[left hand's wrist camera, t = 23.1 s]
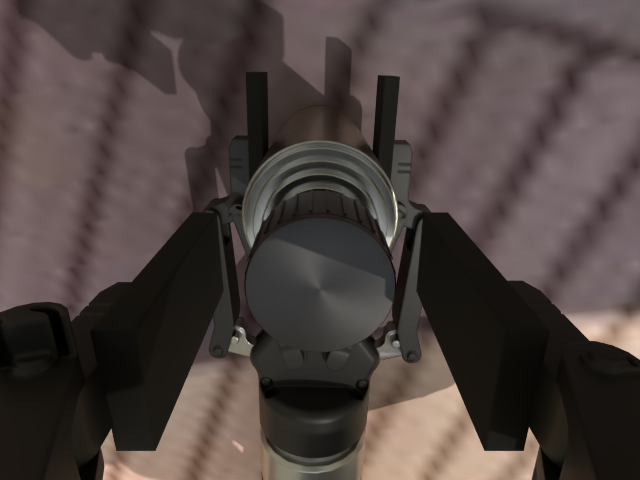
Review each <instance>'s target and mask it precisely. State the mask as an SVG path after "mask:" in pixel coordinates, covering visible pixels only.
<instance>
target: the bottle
mask: <svg viewBox="0 0 640 480" xmlns="http://www.w3.org/2000/svg"><path fill="white" fill-rule="evenodd" d="M310 190H313V191H326V190H329V191H330V192H336V193H339V194H341V193H344V195H345V196H348V197H350V198H352V199H357V201H358V202H359V203H360V204H361V205H362V206H364V207H365V208H368V209H369V212H370V214H371V215H372V216H373V218H374V219H377V220H378V223H379V226H380V228H381V231H383V233H384V236H385V239H386V241H387V244H388V247H389V249H390V247H391V245H392V243H393V241H394V238H395V236H396V231H397V227H398V219H399V210H398V202H397V196H396V193H395V190H394V187H393V185H392V183H391V181H390V179H389V177H388V176H387V174H386V172H385V171H384V169H383V168H382V166H381V164H380V163H379V161H378V159H377V158H376V156H375V155H374V153H373V151H372V150H371V148H370V146H369V145H368V143H367V142H366V140H365V138H364V137H363V135H362V133H361V132H360V130H359V128H358V127H357V125H356V124H355V122H354V121H353V120H352V119H351V118H350V117H349V116H348V115H346V114H345V113H343V112H342V111H340V110H338V109H336V108H333V107H329V106H311V107H307V108H305V109H302V110H300V111H298V112H297V113H295V114H294V115H293V116H291V117H290V118H289V119H288V120H287V122H286V123H285V124H284V126H283V127H282V129H281V131H280V132H279V134H278V135H277V137H276V139H275V140H274V142H273V144H272V145H271V147H270V149H269V150H268V152H267V154H266V155H265V157H264V158H263V160H262V162H261V163H260V165H259V167H258V168H257V170H256V172H255V173H254V175H253V177H252V178H251V180H250V182H249V184H248V186H247V189H246V191H245V195H244V199H243V204H242V224H243V230H244V234H245V237H246V240H247V242H248V244H249V246H250V249H251V248H252V246H253V243H254V240H255V238H256V235H257V232H259V229H260V226H261V224H262V221H263V220H266V218H267V217H268V216H269V214H270V211H271V209H275V208H276V207H277V206H278V205H279V204H281V203H282V200H287V199H289V198H291V197H293V196H295V194H297V193H298V194H301V193H305V192H309V191H310Z"/></svg>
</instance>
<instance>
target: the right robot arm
mask: <svg viewBox="0 0 640 480" xmlns="http://www.w3.org/2000/svg"><path fill="white" fill-rule="evenodd" d="M399 81H400V77H397V76H381V75H378V83H377V97H376V111H375V125H374V139H373V153H374V155H375V156H376V158H377V159H378V161H379V163H380V164H381V166H382V168H383V169H384V171H385V172H386V174H387V176H388V177H389V179H390V181H391V183H392V185H393V187H394V190H395V193H396V196H397V202H398V210H399V219H398V227H397V231H396V236H395V238H394V241H393V243H392V245H391V247H390V252H391V253H392V251H393V248H394V246H395V244H396V242H397V240H398V237H399V235H400V233H401V231H402V228H403V226H405V227H407V229H406V234H405V240H404V245H403V251H402V256H401V262H400V267H399V273H398V278H397V284H396V292H395V298H394V302H393V307H392V317H393V321H388V322H387V324H386V326H385V327H384V330H383V335H382V337H381V338H379V339H377V340H375V339H374V338H373V337H372V335H370V336H369V337H368V338H366V339H365V340H363V341H361V342H360V343H358V344H356V345H353V346H351V347H349V348H345V349H342V350H338V351H333V352H308V351H302V350H299V349H295V348H292V347H289V346H287V345H285V344H283V343H281V342H279V341H277V340H276V339H274V338H273V337H272V336H270V335H269V334H268V333H267V332H266V331H265V330H264V329H262V330H261V331H260V333H259V334H258V335H257V336H256V337H254V336H252V335H251V334H250V333H249V331H248V325H247V323H246V321H245V319H244V318H243V317H239V312H240V297H239V289H238V282H237V274H236V266H235V258H234V250H233V242H232V234H231V226H230V222H233V221H234V224H235V226H236V229H237V231H238V234H239V237H240V239H241V242H242V244H243V247H244V250H245V252H246V255H247V257H248V256H249V254H250V251H251V249H250V246H249V244H248V242H247V240H246V237H245V234H244V230H243V224H242V204H243V199H244V195H245V191H246V189H247V186H248V184H249V182H250V180H251V178H252V177H253V175H254V173H255V172H256V170H257V168H258V167H259V165H260V163H261V162H262V160H263V158H264V157H265V155H266V154H267V152H268V88H267V72H246V90H247V122H248V136H235V137H234V138H233V139H232V141H231V144H230V147H229V164H230V185H231V194H230V195H229V196H227V197H224V198H221V199H218V198H217V199H213V200H212V201H210V203H209V204H208V205H207V206H206V208H205V209H204V210H203V211H202V213H217V221H218V232H219V243H220V255H221V266H222V277H223V288H224V291H223V294H222V296H221V298H220V301H219V303H218V306H217V308H216V310H215V313H214V315H213V319H214V325H215V327H214V331H213V335H212V338H211V342H210V346H209V352H210V354H211V355H212V356H213V357H215V358H223V357H225V356H226V355H227V353H228V351H229V352H233V353H236V354H240V355H244V356H248V357H250V360H251V363H252V365H253V366H254V367H255V369H256V370H257V373H258V376H259V405H260V424H261V429H260V441H261V462H262V480H361V476H362V470H363V459H364V447H365V427H366V421H367V410H368V398H369V386H370V378H371V375H372V373H373V372H374V370H375V369H376V368H377V366H378V365H379V361H380V360H384V359H388V358H393V357H398V356H402V357H403V359H404V360H405V361H406V362H408V363H414V362H417V361H418V360H419V359H420V357H421V350H420V345H419V340H418V335H417V328H418V323H419V318H420V314H421V309H422V303H421V301H420V299H419V296H418V294H417V291H416V288H417V277H418V266H419V255H420V243H421V232H422V221H423V213H431V212H430V210H429V209H428V208H427V207H426V206H425V205H423V204H416V203H414V202H411V201H410V200H409V199H408V193H409V183H410V174H411V164H412V155H413V154H412V150H411V147H410V144H409V143H408V142H407V141H405V140H394V138H395V126H396V115H397V104H398V92H399Z"/></svg>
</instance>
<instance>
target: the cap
mask: <svg viewBox="0 0 640 480" xmlns="http://www.w3.org/2000/svg"><path fill="white" fill-rule="evenodd" d="M392 259H393V257H392V255H391V252H390V249H389V247H388V244H387V241H386V239H385V236H384V233H383V231H381V228H380V226H379V223H378V220H377V219H374V218H373V216H372V215H371V214H370V212H369V209H368V208H365V207H364V206H362V205H361V204H360V203H359V202H358V201H357V199H352V198H350V197H348V196H345V195H344V193H341V194H339V193H336V192H330V191H329V190H326V191H313V190H310V191H309V192H305V193H301V194H298V193H297V194H295V196H293V197H291V198H289V199H287V200H282V203H281V204H279V205H278V206H277V207H276V208H275V209H271V211H270V214H269V216H268V217H267V218H266V220H263V221H262V224H261V226H260V229H259V232H257V235H256V238H255V240H254V243H253V246H252V248H251V251H250V254H249V256H248V259H247V261H249V263H248V266H247V269H246V272H245V295H246V300H247V303H248V306H249V309H250V311H251V313H252V315H253V317H254V318H255V320H256V321H257V322H258V324H259V325H260V326H261V327H262V328H263V329H264V330H265V331H266V332H267V333H268V334H269V335H270V336H272V337H273V338H274V339H276V340H277V341H279V342H281V343H283V344H285V345H287V346H289V347H292V348H295V349H299V350H302V351H308V352H333V351H338V350H342V349H345V348H349V347H351V346H353V345H356V344H358V343H360V342H361V341H363V340H365V339H366V338H368V337H369V336H370V335H372V334H373V333H374V332H375V331H376V330H377V329H378V328H379V327H380V326H381V324H382V323H383V322H384V321H385V319H386V317H387V316H388V314H389V312H390V310H391V308H392V305H393V302H394V298H395V292H396V276H395V274H396V272H395V269H394V266H393V264H392V261H391V260H392Z"/></svg>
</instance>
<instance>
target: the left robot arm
mask: <svg viewBox="0 0 640 480" xmlns="http://www.w3.org/2000/svg"><path fill="white" fill-rule="evenodd" d="M223 291H224V288H223V277H222V266H221V255H220V243H219V232H218V221H217V213H191V215H190V216H189V217H188V218H187V219H186V220H185V222H184V223H183V224H182V225H181V226H180V227H179V228H178V230H177V231H176V232H175V233H174V234H173V235H172V236H171V238H170V239H169V240H168V241H167V242H166V243H165V245H164V246H163V247H162V248H161V249H160V250H159V251H158V253H157V254H156V255H155V256H154V257H153V258H152V260H151V261H150V262H149V263H148V264H147V265H146V266H145V268H144V269H143V270H142V271H141V272H140V273H139V274H138V276H137V277H136V278H135V279H134V280H133V281H132V282H118V283H116V284H114V285H112V286H110V287H108V288H107V289H105V290H103V291H101V292H100V293H99V294H98V295H97V296H96V297H95V298H94V299H93V300H92V301H91V302H90V303H89V306H86V307H85V308H84V309H83V310H82V311H81V312H80V315H79V316H76V317H75V319H74V320H73V321H72V322H71V321H70V317H69V312H68V308H66V307H65V306H63V305H62V304H59V303H52V302H40V303H31V304H26V305H21V306H17V307H14V308H11V309H8V310H6V311H3V312H0V480H103V472H104V461H103V455H102V451H101V445H102V444H103V442H104V440H105V438H106V437H107V435H108V433H109V431H110V430H111V429H112V433H113V438H114V442H115V447H116V451H156V448H157V446H158V444H159V441H160V439H161V437H162V434H163V432H164V430H165V427H166V425H167V423H168V420H169V418H170V415H171V413H172V411H173V408H174V406H175V404H176V401H177V399H178V397H179V394H180V392H181V390H182V387H183V385H184V383H185V380H186V378H187V376H188V373H189V371H190V369H191V366H192V364H193V362H194V359H195V357H196V355H197V352H198V350H199V348H200V345H201V343H202V341H203V338H204V336H205V334H206V331H207V329H208V327H209V324H210V322H211V320H212V317H213V315H214V313H215V310H216V308H217V306H218V303H219V301H220V298H221V296H222V294H223ZM416 291H417V294H418V296H419V299H420V301H421V303H422V306H423V308H424V310H425V313H426V315H427V317H428V320H429V322H430V324H431V327H432V329H433V331H434V334H435V336H436V338H437V341H438V343H439V345H440V348H441V350H442V352H443V355H444V357H445V359H446V362H447V364H448V366H449V369H450V371H451V373H452V376H453V378H454V380H455V383H456V385H457V387H458V390H459V392H460V394H461V397H462V399H463V401H464V404H465V406H466V408H467V411H468V413H469V415H470V418H471V420H472V423H473V425H474V427H475V430H476V432H477V434H478V437H479V439H480V441H481V444H482V446H483V448H484V451H524V447H525V442H526V438H527V433H528V429H529V427H530V429H531V431H532V433H533V434H534V436H535V438H536V439H537V441H538V443H539V445H540V447H539V451H538V455H537V459H536V463H535V468H534V472H533V476H532V480H640V360H639V359H638V358H636V357H635V356H633V355H632V354H630V353H629V352H627V351H624V350H622V349H619V348H617V347H615V346H612V345H608V344H604V343H600V342H596V341H589V340H588V339H587V338H586V337H585V336H584V335H583V334H582V333H581V332H580V331H579V330H578V329H577V328H576V327H575V326H574V325H573V324H572V323H571V322H570V321H569V319H568V318H567V317H566V316H565V315H564V314H561V311H560V310H559V309H558V308H557V307H556V306H555V305H554V304H551V301H550V300H549V299H548V298H547V297H546V296H545V295H544V294H543V293H542V292H541V291H540V290H538V289H536V288H535V287H533V286H531V285H529V284H527V283H525V282H524V281H507V280H506V279H505V278H504V277H503V276H502V274H501V273H500V272H499V271H498V270H497V269H496V268H495V266H494V265H493V264H492V263H491V262H490V261H489V260H488V258H487V257H486V256H485V255H484V254H483V253H482V251H481V250H480V249H479V248H478V247H477V246H476V245H475V243H474V242H473V241H472V240H471V239H470V238H469V236H468V235H467V234H466V233H465V232H464V231H463V230H462V228H461V227H460V226H459V225H458V224H457V223H456V222H455V220H454V219H453V218H452V217H451V216H450V215H449V213H423V221H422V232H421V243H420V255H419V266H418V277H417V288H416Z"/></svg>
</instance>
